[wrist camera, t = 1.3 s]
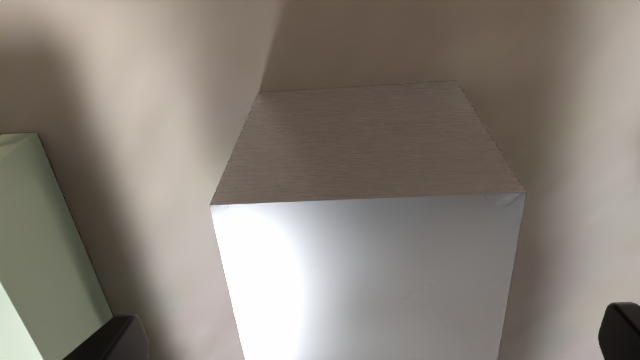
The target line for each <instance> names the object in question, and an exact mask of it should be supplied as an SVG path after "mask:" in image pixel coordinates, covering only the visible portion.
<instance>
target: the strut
mask: <svg viewBox="0 0 640 360" xmlns="http://www.w3.org/2000/svg"><path fill="white" fill-rule="evenodd" d="M525 196H526V191H525V190H524V188H523V187H522V185H521V183H520V182H519V180H518V179H517V177H516V175H515V174H514V172H513V171H512V169H511V167H510V166H509V164H508V163H507V161H506V159H505V158H504V156H503V155H502V153H501V151H500V150H499V148H498V147H497V145H496V143H495V142H494V140H493V139H492V137H491V135H490V134H489V132H488V131H487V129H486V127H485V126H484V124H483V123H482V121H481V119H480V118H479V116H478V115H477V113H476V111H475V110H474V108H473V107H472V105H471V103H470V102H469V100H468V99H467V97H466V95H465V94H464V92H463V91H462V89H461V87H460V86H459V84H458V83H457V81H444V82H427V83H410V84H393V85H376V86H358V87H341V88H324V89H307V90H290V91H273V92H258V95H257V97H256V99H255V101H254V104H253V106H252V108H251V111H250V113H249V115H248V118H247V120H246V122H245V124H244V127H243V129H242V131H241V134H240V136H239V138H238V141H237V143H236V145H235V148H234V150H233V152H232V154H231V157H230V159H229V161H228V164H227V166H226V168H225V171H224V173H223V175H222V177H221V180H220V182H219V184H218V187H217V189H216V191H215V194H214V196H213V198H212V200H211V203H210V205H209V206H210V210H211V214H212V219H213V223H214V227H215V231H216V236H217V240H218V244H219V249H220V253H221V257H222V262H223V266H224V270H225V274H226V279H227V283H228V287H229V292H230V296H231V300H232V305H233V309H234V313H235V317H236V322H237V326H238V330H239V335H240V339H241V343H242V347H243V352H244V356H245V360H497V359H498V353H499V348H500V342H501V336H502V330H503V324H504V318H505V313H506V307H507V301H508V295H509V289H510V283H511V277H512V272H513V266H514V260H515V254H516V248H517V242H518V237H519V231H520V225H521V219H522V213H523V207H524V202H525Z"/></svg>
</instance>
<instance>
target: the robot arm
mask: <svg viewBox="0 0 640 360" xmlns="http://www.w3.org/2000/svg"><path fill="white" fill-rule="evenodd" d="M598 340H599V345H600V348H601V351H602V354H603V357H604V359H605V360H640V306H639V305H637V304H635V303H632V302H616V303H610V304H609V305H608V306H607V308H606V311H605V314H604V317H603V320H602V323H601V327H600V330H599V334H598ZM148 355H149V341H148V338H147V335H146V333H145V330H144V327H143V325H142V322H141V319H140V317H139V316H138V315H137V314H118V315H115V316H114V317H112V318H111V319H110V320H109V321H107V322H106V323H105V324H104V325H103V326H102V327H100V328H99V329H98V330H97V331H96V332H94V333H93V334H92V335H91V336H90V337H88V338H87V339H86V340H85V341H84V342H82V343H81V344H80V345H79V346H78V347H76V348H75V349H74V350H73V351H72V352H70V353H69V354H68V355H67V356H66V357H64V358H63V359H62V360H147V359H148Z"/></svg>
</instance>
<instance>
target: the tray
mask: <svg viewBox="0 0 640 360" xmlns="http://www.w3.org/2000/svg"><path fill="white" fill-rule="evenodd" d="M112 317H113V315H112V312H111V310H110V308H109V305H108V303H107V300H106V298H105V295H104V293H103V291H102V288H101V286H100V283H99V281H98V279H97V276H96V274H95V271H94V269H93V267H92V264H91V262H90V259H89V257H88V255H87V252H86V250H85V247H84V245H83V243H82V240H81V238H80V235H79V233H78V231H77V228H76V226H75V223H74V221H73V219H72V216H71V214H70V211H69V209H68V206H67V204H66V202H65V199H64V197H63V194H62V192H61V190H60V187H59V185H58V182H57V180H56V178H55V175H54V173H53V170H52V168H51V166H50V163H49V161H48V158H47V156H46V154H45V151H44V149H43V146H42V144H41V142H40V139H39V137H38V134H37V132H35V133H16V134H0V360H62V359H63V358H64V357H66V356H67V355H68V354H69V353H70V352H72V351H73V350H74V349H75V348H76V347H78V346H79V345H80V344H81V343H82V342H84V341H85V340H86V339H87V338H88V337H90V336H91V335H92V334H93V333H94V332H96V331H97V330H98V329H99V328H100V327H102V326H103V325H104V324H105V323H106V322H107V321H109V320H110V319H111V318H112Z"/></svg>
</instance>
